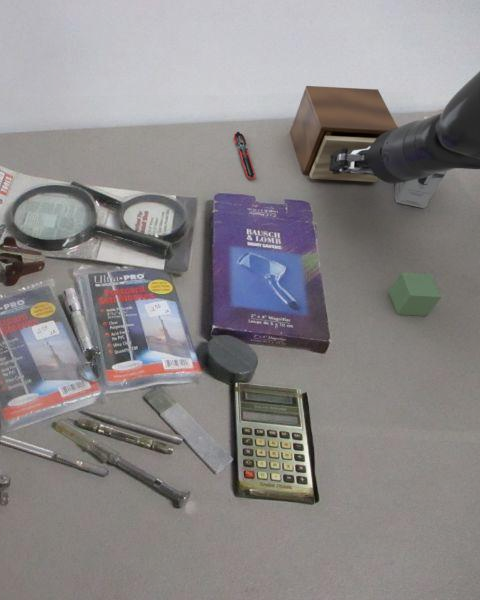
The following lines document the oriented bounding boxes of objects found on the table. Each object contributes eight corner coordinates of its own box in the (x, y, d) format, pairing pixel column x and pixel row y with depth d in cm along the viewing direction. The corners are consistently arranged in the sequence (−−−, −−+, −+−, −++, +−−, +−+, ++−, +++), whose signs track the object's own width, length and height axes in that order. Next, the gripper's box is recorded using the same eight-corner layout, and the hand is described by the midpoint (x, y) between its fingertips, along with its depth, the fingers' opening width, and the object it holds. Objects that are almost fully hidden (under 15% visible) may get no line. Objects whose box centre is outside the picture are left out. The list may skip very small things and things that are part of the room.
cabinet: (375, 178, 103) (399, 130, 96) (302, 174, 103) (321, 126, 96) (356, 136, 111) (378, 89, 104) (289, 132, 111) (306, 85, 104)
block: (417, 293, 86) (431, 274, 83) (426, 316, 83) (441, 297, 80) (388, 292, 86) (401, 272, 83) (396, 314, 83) (410, 295, 80)
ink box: (392, 172, 104) (424, 113, 95) (422, 178, 103) (457, 119, 94) (393, 203, 99) (427, 143, 90) (425, 209, 98) (462, 149, 89)
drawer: (384, 198, 98) (405, 159, 92) (315, 195, 98) (332, 156, 92) (360, 142, 108) (377, 104, 102) (297, 138, 109) (311, 100, 103)
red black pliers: (245, 180, 101) (246, 177, 101) (231, 133, 110) (232, 130, 110) (257, 181, 102) (258, 178, 101) (242, 133, 111) (243, 130, 110)
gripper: (467, 126, 80) (401, 147, 97) (360, 120, 80) (313, 143, 97) (461, 182, 80) (397, 194, 97) (355, 177, 81) (309, 189, 97)
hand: (355, 168), depth 97 cm, fingers closed on drawer, 6 cm apart
